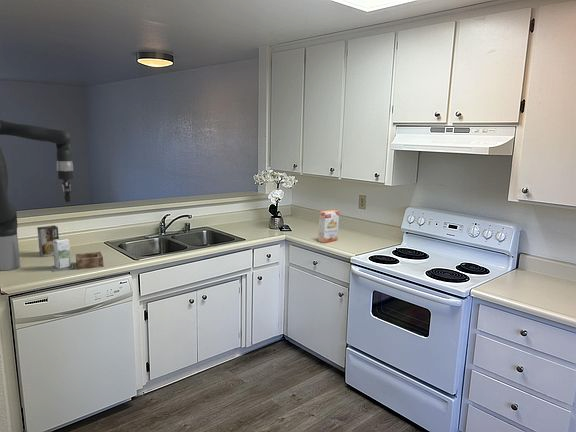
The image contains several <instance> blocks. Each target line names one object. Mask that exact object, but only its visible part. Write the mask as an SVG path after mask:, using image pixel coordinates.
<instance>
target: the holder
mask: <svg viewBox="0 0 576 432" xmlns="http://www.w3.org/2000/svg"><path fill="white" fill-rule="evenodd" d="M75 264H76V268H77V270H85V269H94V268H103V267H104V256H103V254H102V252H101V251H94V252H85V253H76V254H75Z"/></svg>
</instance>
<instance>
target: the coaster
mask: <svg viewBox="0 0 576 432" xmlns="http://www.w3.org/2000/svg"><path fill="white" fill-rule="evenodd" d="M70 265H71V267H67V268H62V269H58V268H56V267H55V265H52V272H53V273H54V272H59V271H60V272H61V271H69V270H74V265H73V263H70Z"/></svg>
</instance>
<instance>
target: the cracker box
mask: <svg viewBox="0 0 576 432" xmlns="http://www.w3.org/2000/svg"><path fill="white" fill-rule="evenodd" d="M339 219H340V211H339V210H336V209H332V210H324V211H319V219H318V221H319V222H318V240H317V242H319V243H322V244H325V243H331V242H330V241H332V242H336V240H337V241H338V240H339V239H338V238H339V237H338V235H339V225H340V223H339V222H340V220H339Z"/></svg>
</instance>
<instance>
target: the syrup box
mask: <svg viewBox="0 0 576 432" xmlns="http://www.w3.org/2000/svg"><path fill="white" fill-rule="evenodd" d="M53 247H54V255H53V258H54V259H53V261H54V266H55V267H56V268H58V269H62V268H67V267H71V265H70V264H71V250H70V249H71V248H70V240H69V239H68V238H66V237H65V238H59V239H55V240H53Z"/></svg>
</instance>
